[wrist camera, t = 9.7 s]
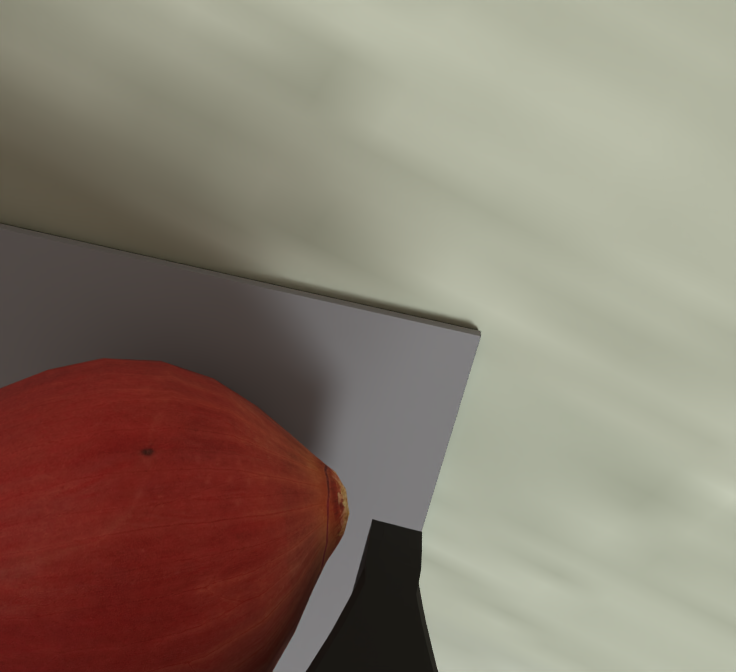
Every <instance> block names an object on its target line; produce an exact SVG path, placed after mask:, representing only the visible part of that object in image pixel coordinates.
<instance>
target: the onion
mask: <svg viewBox="0 0 736 672" xmlns="http://www.w3.org/2000/svg"><path fill="white" fill-rule="evenodd" d="M348 517H349V507H348V500H347V493H346V489H345V487H344V486H343V484H342V482H341V480H340V479H339V477H338V475H337V474H336V472H335V471H334V470H332V469H331V468H330V467H328V466H327V465H326V464H325V463H323V462H322V461H321V460H320V459H319V458H317V457H316V456H315V455H314V454H313V453H311V452H310V451H309V450H308V449H307V448H306V447H305V446H304V445H302V444H301V443H300V442H299V441H298V440H297V439H296V438H294V437H293V436H292V435H291V434H290V433H289V432H287V431H286V430H285V429H284V428H283V427H281V426H280V425H279V424H278V423H277V422H276V421H274V420H273V419H272V418H271V417H270V416H268V415H267V414H266V413H265V412H264V411H262V410H261V409H260V408H259V407H258V406H256V405H254V404H253V403H251V402H250V401H248V400H247V399H245V398H243V397H242V396H240V395H239V394H237V393H236V392H234V391H233V390H231V389H229V388H228V387H226V386H225V385H223V384H222V383H220V382H218V381H217V380H215V379H214V378H211V377H208V376H205V375H202V374H199V373H196V372H193V371H190V370H187V369H184V368H181V367H178V366H175V365H172V364H169V363H166V362H163V361H155V360H133V359H112V358H100V359H96V360H91V361H86V362H82V363H77V364H72V365H67V366H63V367H58V368H53V369H49V370H46V371H43V372H40V373H38V374H35V375H33V376H30V377H28V378H25V379H22V380H20V381H17V382H15V383H12V384H9V385H7V386H4V387H2V388H0V672H273V670H274V668H275V666H276V665H277V663H278V661H279V659H280V658H281V656H282V654H283V652H284V651H285V649H286V647H287V645H288V643H289V642H290V640H291V638H292V636H293V635H294V633H295V631H296V629H297V626H298V624H299V622H300V619H301V617H302V615H303V612H304V610H305V608H306V605H307V603H308V601H309V598H310V596H311V594H312V591H313V589H314V587H315V585H316V583H317V581H318V579H319V577H320V575H321V572H322V570H323V568H324V566H325V564H326V562H327V560H328V559H329V557H330V556H331V555H332V553H333V552H334V550H335V549H336V547H337V546H338V544H339V542H340V540H341V539H342V537H343V535H344V532H345V528H346V525H347V521H348Z"/></svg>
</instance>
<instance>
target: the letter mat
mask: <svg viewBox="0 0 736 672" xmlns="http://www.w3.org/2000/svg"><path fill="white" fill-rule="evenodd" d="M480 337H481V332H480V331H478V330H473V329H469V328H465V327H460V326H456V325H451V324H447V323H442V322H438V321H433V320H429V319H424V318H420V317H415V316H411V315H407V314H402V313H398V312H393V311H389V310H384V309H380V308H375V307H371V306H366V305H362V304H357V303H353V302H348V301H344V300H340V299H335V298H331V297H326V296H322V295H317V294H313V293H308V292H304V291H299V290H295V289H290V288H286V287H282V286H277V285H273V284H268V283H264V282H259V281H255V280H250V279H246V278H241V277H237V276H232V275H228V274H224V273H219V272H215V271H210V270H206V269H201V268H197V267H192V266H188V265H183V264H179V263H174V262H170V261H165V260H161V259H157V258H152V257H148V256H143V255H139V254H134V253H130V252H125V251H121V250H116V249H112V248H107V247H103V246H99V245H94V244H90V243H85V242H81V241H76V240H72V239H67V238H63V237H58V236H54V235H49V234H45V233H41V232H36V231H32V230H27V229H23V228H18V227H14V226H9V225H5V224H0V388H2V387H4V386H7V385H9V384H12V383H15V382H17V381H20V380H22V379H25V378H28V377H30V376H33V375H35V374H38V373H40V372H43V371H46V370H49V369H53V368H58V367H63V366H67V365H72V364H77V363H82V362H86V361H91V360H96V359H100V358H112V359H133V360H155V361H163V362H166V363H169V364H172V365H175V366H178V367H181V368H184V369H187V370H190V371H193V372H196V373H199V374H202V375H205V376H208V377H211V378H214V379H215V380H217V381H218V382H220V383H222V384H223V385H225V386H226V387H228V388H229V389H231V390H233V391H234V392H236V393H237V394H239V395H240V396H242V397H243V398H245V399H247V400H248V401H250V402H251V403H253V404H254V405H256V406H258V407H259V408H260V409H261V410H262V411H264V412H265V413H266V414H267V415H268V416H270V417H271V418H272V419H273V420H274V421H276V422H277V423H278V424H279V425H280V426H281V427H283V428H284V429H285V430H286V431H287V432H289V433H290V434H291V435H292V436H293V437H294V438H296V439H297V440H298V441H299V442H300V443H301V444H302V445H304V446H305V447H306V448H307V449H308V450H309V451H310V452H311V453H313V454H314V455H315V456H316V457H317V458H319V459H320V460H321V461H322V462H323V463H325V464H326V465H327V466H328V467H330V468H331V469H332V470H334V471H335V472H336V474H337V475H338V477H339V479H340V480H341V482H342V484H343V486H344V487H345V489H346V493H347V500H348V507H349V517H348V521H347V525H346V528H345V532H344V535H343V537H342V539H341V540H340V542H339V544H338V546H337V547H336V549H335V550H334V552H333V553H332V555H331V556H330V557H329V559H328V560H327V562H326V564H325V566H324V568H323V570H322V572H321V575H320V577H319V579H318V581H317V583H316V585H315V587H314V589H313V591H312V594H311V596H310V598H309V601H308V603H307V605H306V608H305V610H304V612H303V615H302V617H301V619H300V622H299V624H298V626H297V629H296V631H295V633H294V635H293V636H292V638H291V640H290V642H289V643H288V645H287V647H286V649H285V651H284V652H283V654H282V656H281V658H280V659H279V661H278V663H277V665H276V666H275V668H274V670H273V672H306V670H307V669H308V667H309V666H310V664H311V662H312V661H313V659H314V658H315V656H316V655H317V653H318V651H319V650H320V648H321V647H322V645H323V644H324V642H325V640H326V639H327V637H328V636H329V634H330V632H331V631H332V629H333V627H334V625H335V624H336V622H337V620H338V618H339V616H340V614H341V613H342V611H343V609H344V607H345V605H346V603H347V601H348V600H349V598H350V596H351V594H352V591H353V587H354V584H355V580H356V576H357V573H358V569H359V566H360V562H361V558H362V555H363V551H364V548H365V544H366V540H367V537H368V533H369V529H370V526H371V522H372V519H374V520H378V521H382V522H386V523H390V524H394V525H398V526H401V527H405V528H409V529H413V530H417V531H422V528H423V525H424V522H425V518H426V515H427V512H428V508H429V505H430V502H431V499H432V495H433V492H434V489H435V485H436V482H437V479H438V475H439V472H440V469H441V466H442V462H443V459H444V456H445V452H446V449H447V446H448V443H449V439H450V436H451V433H452V429H453V426H454V423H455V420H456V416H457V413H458V410H459V406H460V403H461V400H462V397H463V393H464V390H465V387H466V383H467V380H468V377H469V374H470V370H471V367H472V364H473V360H474V357H475V354H476V351H477V347H478V344H479V341H480Z"/></svg>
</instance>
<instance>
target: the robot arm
mask: <svg viewBox="0 0 736 672" xmlns="http://www.w3.org/2000/svg"><path fill="white" fill-rule="evenodd" d="M421 557H422V532H421V531H417V530H413V529H409V528H405V527H401V526H398V525H394V524H390V523H386V522H382V521H378V520H374V519H372V522H371V526H370V529H369V533H368V537H367V540H366V544H365V548H364V551H363V555H362V558H361V562H360V566H359V569H358V573H357V576H356V580H355V584H354V587H353V591H352V594H351V596H350V598H349V600H348V601H347V603H346V605H345V607H344V609H343V611H342V613H341V614H340V616H339V618H338V620H337V622H336V624H335V625H334V627H333V629H332V631H331V632H330V634H329V636H328V637H327V639H326V640H325V642H324V644H323V645H322V647H321V648H320V650H319V651H318V653H317V655H316V656H315V658H314V659H313V661H312V662H311V664H310V666H309V667H308V669H307V670H306V672H438V670H437V666H436V662H435V658H434V654H433V650H432V646H431V641H430V637H429V633H428V629H427V625H426V620H425V615H424V610H423V605H422V600H421V594H420V588H419V578H420V572H421Z"/></svg>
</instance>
